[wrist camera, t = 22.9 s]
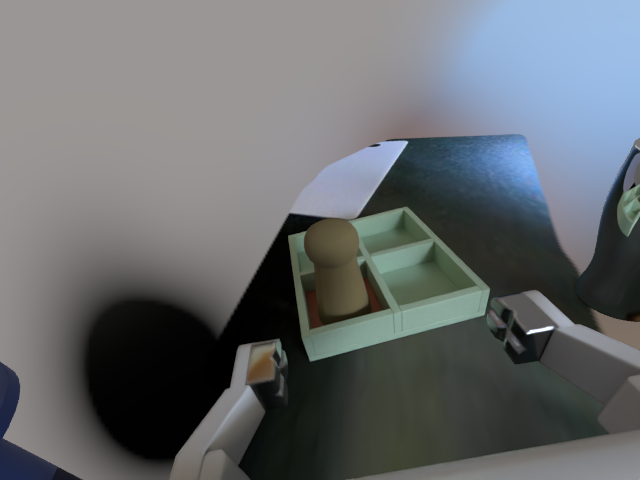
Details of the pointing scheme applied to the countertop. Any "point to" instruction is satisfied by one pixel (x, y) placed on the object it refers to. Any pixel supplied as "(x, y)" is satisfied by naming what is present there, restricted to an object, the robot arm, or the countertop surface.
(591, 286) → the beer glass
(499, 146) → the countertop surface
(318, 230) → the cork
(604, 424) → the robot arm
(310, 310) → the compartment tray
